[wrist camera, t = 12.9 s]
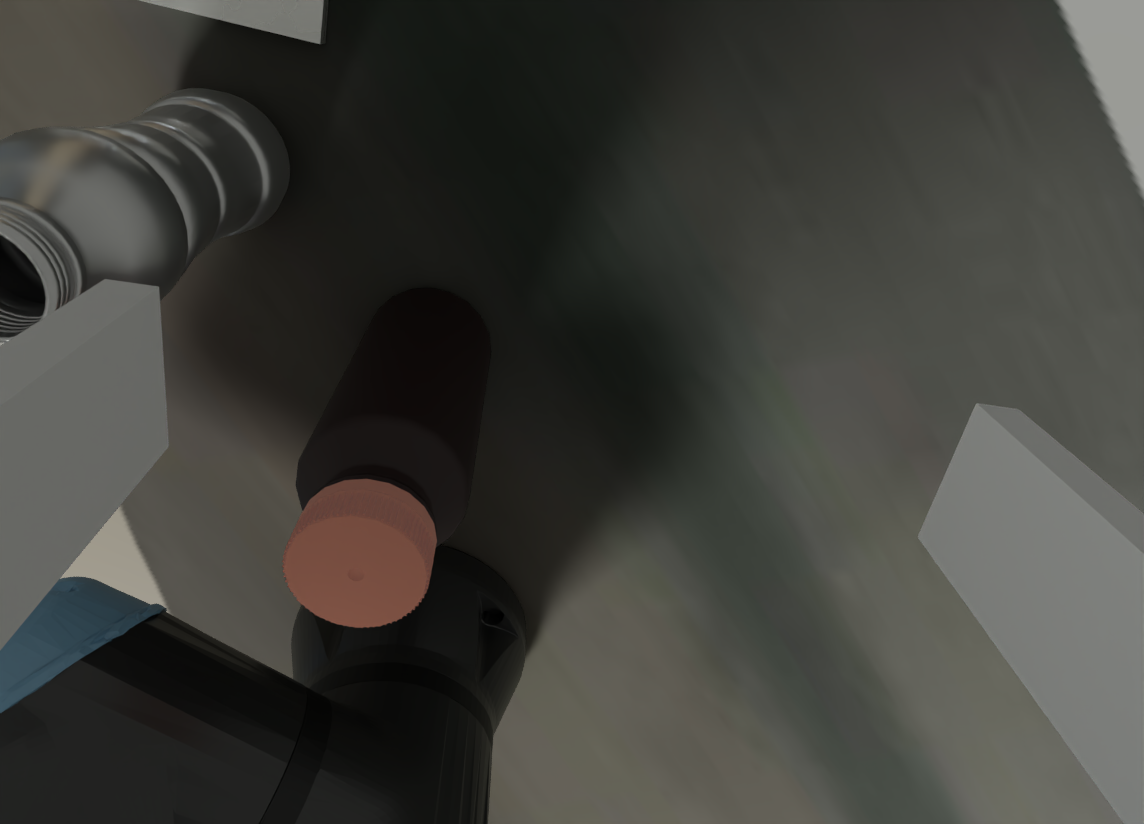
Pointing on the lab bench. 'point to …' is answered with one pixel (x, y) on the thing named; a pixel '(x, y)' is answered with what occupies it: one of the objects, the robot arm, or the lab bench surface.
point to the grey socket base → (263, 15)
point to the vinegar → (390, 462)
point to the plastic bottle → (130, 198)
